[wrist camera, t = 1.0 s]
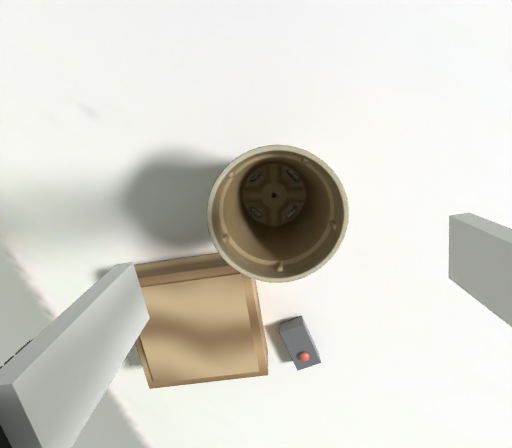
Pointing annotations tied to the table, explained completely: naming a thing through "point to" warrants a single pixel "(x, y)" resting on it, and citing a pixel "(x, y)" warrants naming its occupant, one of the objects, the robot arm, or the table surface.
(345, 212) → the flower pot
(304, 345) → the clicker
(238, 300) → the plinth
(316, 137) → the table surface
